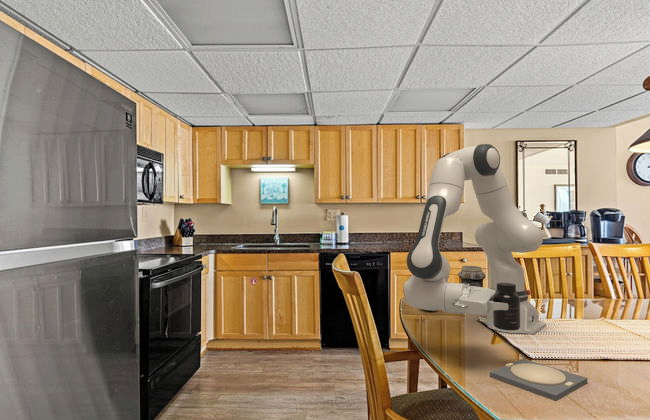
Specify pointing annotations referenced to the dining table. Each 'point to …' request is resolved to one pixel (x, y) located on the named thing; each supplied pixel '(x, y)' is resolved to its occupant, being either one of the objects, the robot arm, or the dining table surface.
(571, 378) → the slate board
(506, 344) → the dining table surface
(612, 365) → the dining table surface
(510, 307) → the supplement bottle
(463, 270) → the apothecary jar
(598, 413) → the dining table surface
